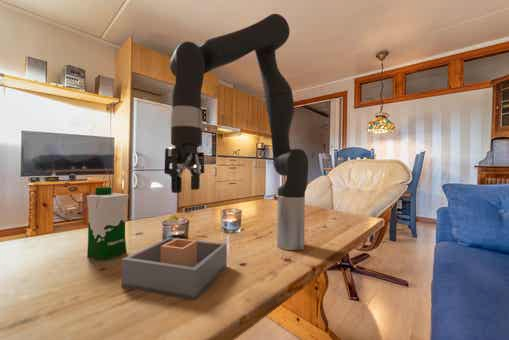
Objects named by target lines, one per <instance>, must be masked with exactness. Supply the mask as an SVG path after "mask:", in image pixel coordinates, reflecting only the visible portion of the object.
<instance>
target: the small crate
mask: <svg viewBox="0 0 509 340" xmlns="http://www.w3.org/2000/svg"><path fill="white" fill-rule="evenodd" d="M175 238H176V239H174V240H172V241H170V242H168V243H166V244H164V245H162V246H161V263H168V264H174V265H181V266H188V267H195V266H196V265H197V241H198V240H196V241H195V240H194V239H187V240H186V238H177V237H175Z"/></svg>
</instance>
